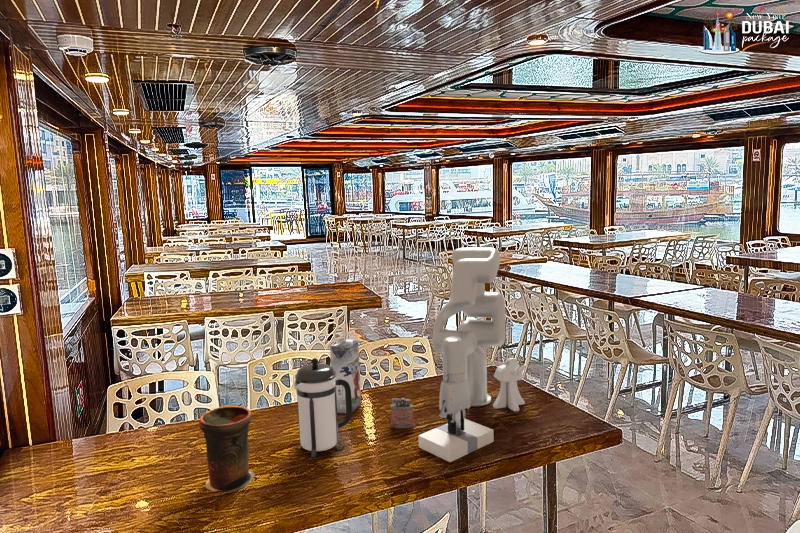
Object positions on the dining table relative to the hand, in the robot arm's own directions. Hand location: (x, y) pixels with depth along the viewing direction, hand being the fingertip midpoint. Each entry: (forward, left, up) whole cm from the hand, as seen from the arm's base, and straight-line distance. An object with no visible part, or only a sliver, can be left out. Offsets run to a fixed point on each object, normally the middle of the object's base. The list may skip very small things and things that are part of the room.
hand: (456, 430), depth 183 cm
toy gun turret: (-9, +37, -5) cm, 38 cm away
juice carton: (-49, -8, -5) cm, 50 cm away
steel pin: (0, 0, -1) cm, 1 cm away
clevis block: (0, 0, -5) cm, 5 cm away
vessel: (-30, -63, -5) cm, 70 cm away
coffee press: (-29, -32, -5) cm, 44 cm away
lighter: (-23, -3, -5) cm, 24 cm away
